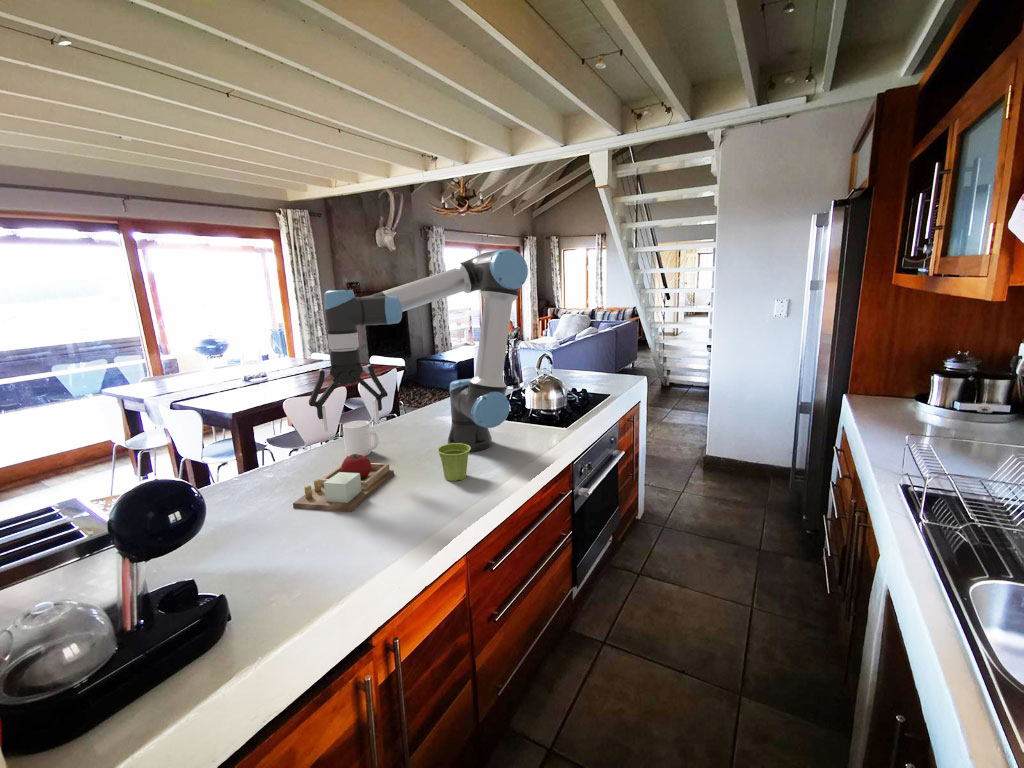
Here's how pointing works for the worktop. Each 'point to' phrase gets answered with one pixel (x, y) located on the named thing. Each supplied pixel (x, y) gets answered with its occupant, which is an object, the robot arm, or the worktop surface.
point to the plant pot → (454, 460)
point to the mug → (358, 438)
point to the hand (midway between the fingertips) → (352, 426)
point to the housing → (342, 487)
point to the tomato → (356, 465)
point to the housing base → (368, 486)
